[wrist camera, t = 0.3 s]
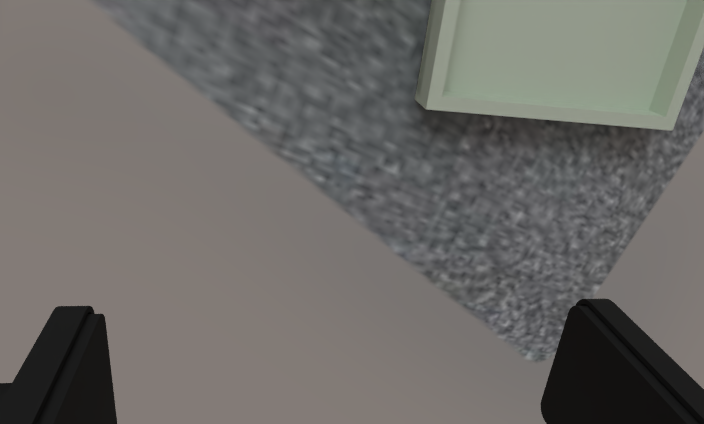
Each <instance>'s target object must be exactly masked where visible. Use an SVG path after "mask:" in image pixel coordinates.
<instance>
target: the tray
mask: <svg viewBox="0 0 704 424" xmlns="http://www.w3.org/2000/svg"><path fill="white" fill-rule="evenodd" d="M703 47H704V0H432V1H431V7H430V13H429V19H428V24H427V30H426V36H425V42H424V48H423V54H422V60H421V65H420V71H419V77H418V83H417V89H416V95H415V100H416V101H417V102H418V103H419V104H420V105H422V106H423V107H424V108H425V109H427V110H439V111H450V112H462V113H474V114H485V115H497V116H509V117H520V118H532V119H544V120H555V121H567V122H579V123H590V124H602V125H614V126H625V127H637V128H649V129H661V130H673V128H674V125H675V122H676V120H677V117H678V114H679V112H680V109H681V106H682V104H683V101H684V98H685V96H686V93H687V90H688V88H689V85H690V82H691V80H692V77H693V74H694V71H695V69H696V66H697V63H698V61H699V58H700V55H701V53H702V50H703Z"/></svg>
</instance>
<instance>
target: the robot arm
mask: <svg viewBox="0 0 704 424" xmlns="http://www.w3.org/2000/svg"><path fill="white" fill-rule="evenodd" d="M541 412H542V415H543V418H544V420H545V422H546V423H547V424H704V389H703V388H701V386H699V385H698V384H697V383H696V382H695V381H694V380H693V379H692V378H691V377H690V376H689V375H688V374H687V373H686V372H685V371H684V370H683V369H682V368H681V367H680V366H679V365H678V364H677V363H676V362H675V361H674V360H673V359H672V358H671V357H669V356H668V355H667V354H666V353H665V352H664V351H663V350H662V349H661V348H660V347H659V346H658V345H657V344H656V343H655V342H654V341H653V340H652V339H651V338H650V337H649V336H648V335H647V334H646V333H645V332H644V331H642V330H641V329H640V328H639V327H638V326H637V325H636V324H635V323H634V322H633V321H632V320H631V319H630V318H629V317H628V316H627V315H626V314H625V313H624V312H623V311H622V310H621V309H620V308H619V307H618V306H617V305H616V304H615V303H613V302H612V301H611V300H609V299H582V300H579V301H578V302H577V304H576V306H573V307H572V308H571V309H570V311H569V313H568V316H567V319H566V323H565V326H564V329H563V332H562V335H561V339H560V342H559V345H558V348H557V352H556V355H555V359H554V362H553V365H552V368H551V371H550V374H549V377H548V381H547V384H546V387H545V390H544V394H543V397H542V400H541ZM0 424H117V418H116V411H115V401H114V392H113V383H112V375H111V366H110V358H109V349H108V340H107V331H106V323H105V317H104V315H103V314H94V310H93V308H92V307H91V306H59V307H56V308H55V309H54V311H53V312H52V314H51V316H50V318H49V319H48V321H47V323H46V325H45V327H44V328H43V330H42V332H41V334H40V335H39V337H38V339H37V340H36V342H35V344H34V346H33V348H32V349H31V351H30V353H29V355H28V357H27V358H26V360H25V362H24V363H23V365H22V367H21V369H20V370H19V372H18V374H17V376H16V377H15V379H14V381H13V383H0Z"/></svg>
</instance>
